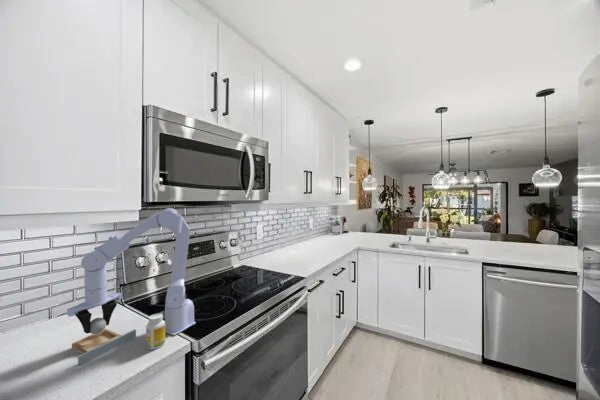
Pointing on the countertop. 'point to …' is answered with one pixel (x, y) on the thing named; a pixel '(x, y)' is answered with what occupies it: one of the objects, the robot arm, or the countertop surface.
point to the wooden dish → (94, 341)
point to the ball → (97, 325)
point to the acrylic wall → (106, 347)
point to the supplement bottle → (155, 331)
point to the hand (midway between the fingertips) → (96, 328)
